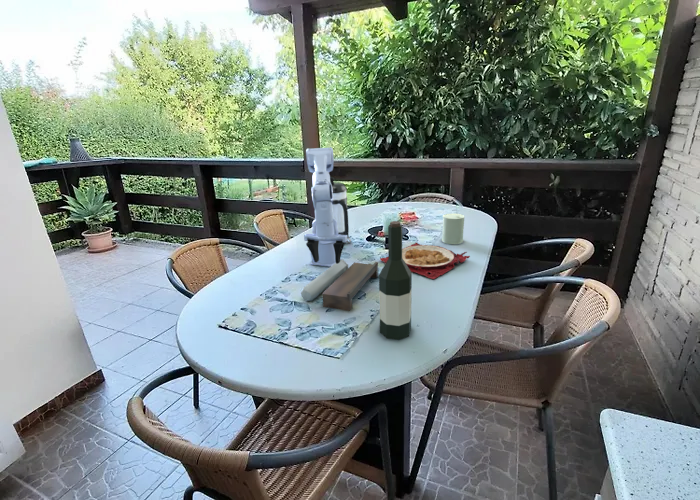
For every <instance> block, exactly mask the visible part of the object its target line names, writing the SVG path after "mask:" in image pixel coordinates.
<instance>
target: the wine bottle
mask: <svg viewBox="0 0 700 500" xmlns="http://www.w3.org/2000/svg"><path fill="white" fill-rule="evenodd" d="M387 235H388V236H387V238H388V239H387V240H388V243H387V245H388V247H387V248H388V253H387V255H388V256H389V259H388V261H387V262H386V263H384V265H383V267H382V269H381V270H380V272H379V273H378V290H379V291H378V296H379V297H378V301H379V302H378V303H379V304H378V305H379V333H380V334H381V335H382V336H383V337H384V338H386V340H387V339H389V340H395V341H400V340H403V339H406V338H409V337H410V334H411V331H412V290H413V289H412V286H413V285H412V284H413V283H412V282H413V281H412V279H413V272H411V271H410V269H409V268H408V266H407V264H406V263H405V261H404V260H403V258H402V249H403V224H401V221H399V220H393V221H392V220H391V221H390V222H389V225H388V227H387ZM388 256H387V257H388Z"/></svg>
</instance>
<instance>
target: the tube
mask: <svg viewBox="0 0 700 500" xmlns="http://www.w3.org/2000/svg"><path fill="white" fill-rule="evenodd" d="M348 268H349V264H348V263H347V262H346V261H345V260H342V259H340V262H339V263H338V264H336V263H335V264H334V265H332V266H331V267H328V268H327V269H325V270H324V271H323V272H322V273H320V274H319V275H318V276H316V277H314V279H313V280H311V281H310V282H308V283H307V284H306V285H305V286H303V288H302V289H301V291H300V295H301V297H302V299H303V301H306V302H307V301H308V302H309V301H310V302H313V301H314V300H315V299H316V298H317V297H318V296H320V295H321V294H322V293H323V292H324V291H325V290H326V289H327V288H328V287H330V286H331V285H332V284H333V283H334V282H335V281H336V280H337V279H338V278H339V277H340V276H341V275H342V274H343V273H344V272H345V271H346V270H347V269H348Z"/></svg>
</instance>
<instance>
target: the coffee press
mask: <svg viewBox="0 0 700 500" xmlns="http://www.w3.org/2000/svg"><path fill="white" fill-rule="evenodd" d="M330 183H331V185H332V189H333V202H332V200H331V199H330V201H331V202H332V210H333V218H334V219H335V220H336V221H337V225H338V234H340V235H347V240H348V241H347V242H346V243H347V244H351V243H352V239H351V238H350V235H349V232H350V230H349V212H348V195H347V191H348V188H347V187H346V184H344V183H343V182H339V181H335V177H334V176H330ZM335 243H336V242H335Z"/></svg>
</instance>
